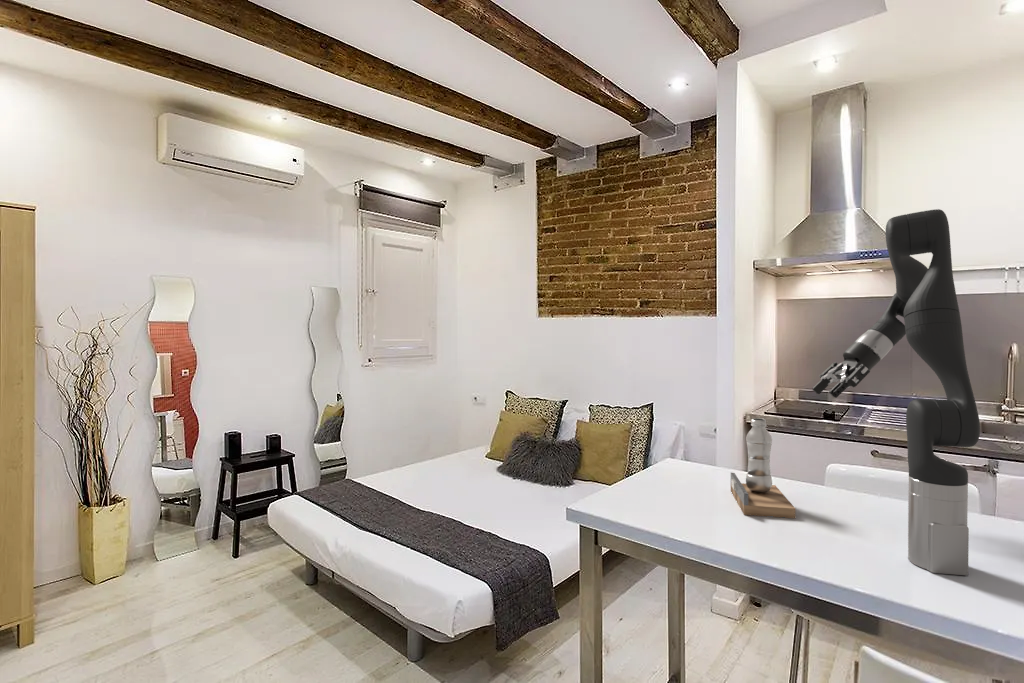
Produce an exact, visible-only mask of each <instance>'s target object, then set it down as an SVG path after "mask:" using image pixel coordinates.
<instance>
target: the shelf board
mask: <svg viewBox="0 0 1024 683" xmlns="http://www.w3.org/2000/svg"><path fill="white" fill-rule="evenodd" d="M741 484H742V485H743V487H744V488H745V490H746V491H747V493H748V505H744V504H743V503H742V501H741V499H740V498H739V496H738V494H737V493H736V491H735V490H733V488H732V486H731V485H730V493H731V492H732V493H731V495H732V494H733V495H732V496H733V497H734V500H735V501H737V502H736V503H737V506H738V507H739V509H740V508H741V509H740V511H741V512H742V514H743V515H744V516H753V515H754V517H755V516H756V517H767V516H773V517H772V518H782V517H785V519H796V507H795V506H794V505H793V504H792V503H791V501H790V500H789V499H788V498H787V497H786V496H785V495H784V493H783V492H782V491H781V490H780V489H779V488H778V487H777V485H776V484H772V488H771V489H770V491H768V492H756V491H752V490H749V489H748V487H747V485H746V483H742V482H741Z"/></svg>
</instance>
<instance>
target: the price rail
mask: <svg viewBox="0 0 1024 683" xmlns="http://www.w3.org/2000/svg"><path fill="white" fill-rule="evenodd" d="M741 483H742V482H741V481H740V479H739V478H738V477H737V475H736V473H735V472H730V487H731V486H732V488H733V490H735V491H736V493H737V494H738V496H739V498H740V499H741V501H742V503H743V504H744V505H748V493H747V491H746V490H745V488H744V487H743V485H742V484H741Z"/></svg>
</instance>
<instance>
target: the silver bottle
mask: <svg viewBox="0 0 1024 683" xmlns="http://www.w3.org/2000/svg"><path fill="white" fill-rule="evenodd" d="M750 421H751V422H750V426H751V429H750V430H749V431H748V432H747V434H746V437H745V440H746V449H747V457H748V458H747V460H748V461H747V462H748V463H747V473H746V477H745V484H746V485H747V487H748V489H749V490H752V491H756V492H768V491H770V489H771V488H772V485H773V479H772V474H771V473H772V472H771V464H770V463H771V462H770V461H771V460H770V459H771V450H772V444H773V438H772V435H771V434H770V432H769V431H768V430H767V429H766V428H767V419H765V418H758V417H757V418H751V420H750Z"/></svg>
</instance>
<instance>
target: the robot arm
mask: <svg viewBox="0 0 1024 683" xmlns="http://www.w3.org/2000/svg"><path fill="white" fill-rule="evenodd" d="M885 225H886V226H885V243H886V249H887V253H888V257H889V261H890V263H891V267H892V270H893V272H894V277H895V289H896V290H895V291H896V292H895V293H894V294H893V295H892V297H891V298H890V300H889V302H888V305H887V306H886V308H885V310H884V311H883V313H882V315H881V316H880V317H879V319H878V320H877V321H876V322H875V323H874V324H873V325H871V327H870V328H869V329H868V330H867V331H865V332H864V333H862V334H861V335H860V336H859V337H858V338H857V339H856V340H855V341H854V342H853V343H852V344H851V345H849V347H848V348H847V349H845V351H844V352H842V357H843V361H842V362H840V363H837V361H834V362H833V363H831V365H829V366H828V367H827V368H826V369H825V370H824V371H822V373H820V374H819V375H818V377H819V378H820V380H819V381H818V382H817V383H816V384H815V385H814V386H813V387H812V391H813V392H814V393H815V394H816V395H820V394H821V393H822V392H823V391H824V390H826V388H827V387H828V386H829V385H831V384H832V383H834V382H835V383H836V384H835V385H834V386H833V387H832V388H831V389H830V390H829V391H828V393H829V394H830V396H832V397H833V398H835V399H836V398H838V397H839V396H840V395H841V394H842V393H843V392H844V391H845V390H847V389H850V388H851V387H852V388H856V387H857V386H858V385H859V384H860V383H861V381H863V380H864V379H865V378H866V377H867V376H868V375H869V374H870V372H871V370H872V369H873V368H874V367H875V366H876V365H877V364H878V363H880V361H882V360H883V358H885V357H886V356H887V354H888V353H889V352H890V351H891V350H892V349H893V347H894V346H896V345H897V344H898V343H899V341H900V340H902V339H903V338H904V337H906V340H907V342H908V344H909V345H910V347H911V348H912V349H913V351H914V352H915V353H916V354H917V355H918V356H919V357H920V358H921V359H922V361H924V362H925V364H927V366H929V368H930V369H931V370H932V371H933V372H934V374H936V376H937V377H938V379H939V381H940V382H941V385H942V387H943V390H944V392H945V393H944V394H945V396H946V399H939V398H938V399H935V398H933V399H932V398H927V399H926V398H917V399H912V400H911V401H910V402H909V403H908V405H907V408H906V413H905V424H906V437H907V438H906V439H907V440H906V441H907V442H906V443H907V444H906V445H907V463H908V464H907V465H908V491H907V492H908V494H907V495H908V506H907V507H908V508H907V509H908V513H907V514H908V515H907V516H908V517H907V518H908V519H907V523H908V524H907V530H908V531H907V532H908V533H907V541H908V542H907V543H908V544H907V546H908V548H907V549H908V550H907V559H908V561H909V562H910V563H912V564H914V565H915V566H917V567H919V568H922V569H924V570H927V571H928V572H930V573H933V574H944V575H945V574H946V575H955V576H956V575H958V576H967V577H968V576H969V547H970V546H969V541H970V539H969V536H970V534H969V532H970V531H969V527H968V510H969V509H968V505H969V504H968V503H969V502H968V501H969V500H968V498H969V495H968V494H969V472H968V471H967V468H965V467H964V466H961V465H960V464H957V463H954V462H951V461H948V460H945V459H943V458H941V457H939V456H938V455H936V454H935V453H934V448H933V447H938V446H939V447H955V448H971V447H973V446H976V445H977V443H978V442H979V439H980V435H981V422H980V417H979V412H978V407H977V404H976V399H975V396H974V391H973V388H972V384H971V380H970V376H969V371H968V366H967V360H966V353H965V345H964V336H963V324H962V320H961V312H960V308H959V302H958V298H957V291H956V286H955V280H954V275H953V274H954V272H953V264H952V248H951V247H952V246H951V234H950V232H951V231H950V225H949V219H948V217H947V214H946V212H945V211H944V210H942V209H939V208H937V209H929V210H923V211H916V212H911V213H907V214H906V213H905V214H901V215H897V216H893V217H891V218H889V219H888V220H887V222H886V224H885ZM929 253H930V254H931V255H932V257H931V261H930V263H929V266H926V265H925V264H924V263H922V262H921V261H919V260H917V259H915V258H914V257H913V256H915V255H922V254H923V255H924V254H929ZM897 316H899V317H902V318H903V322H904V323H903V322H902V321H901V320H899V319H898V318H897Z"/></svg>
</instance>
